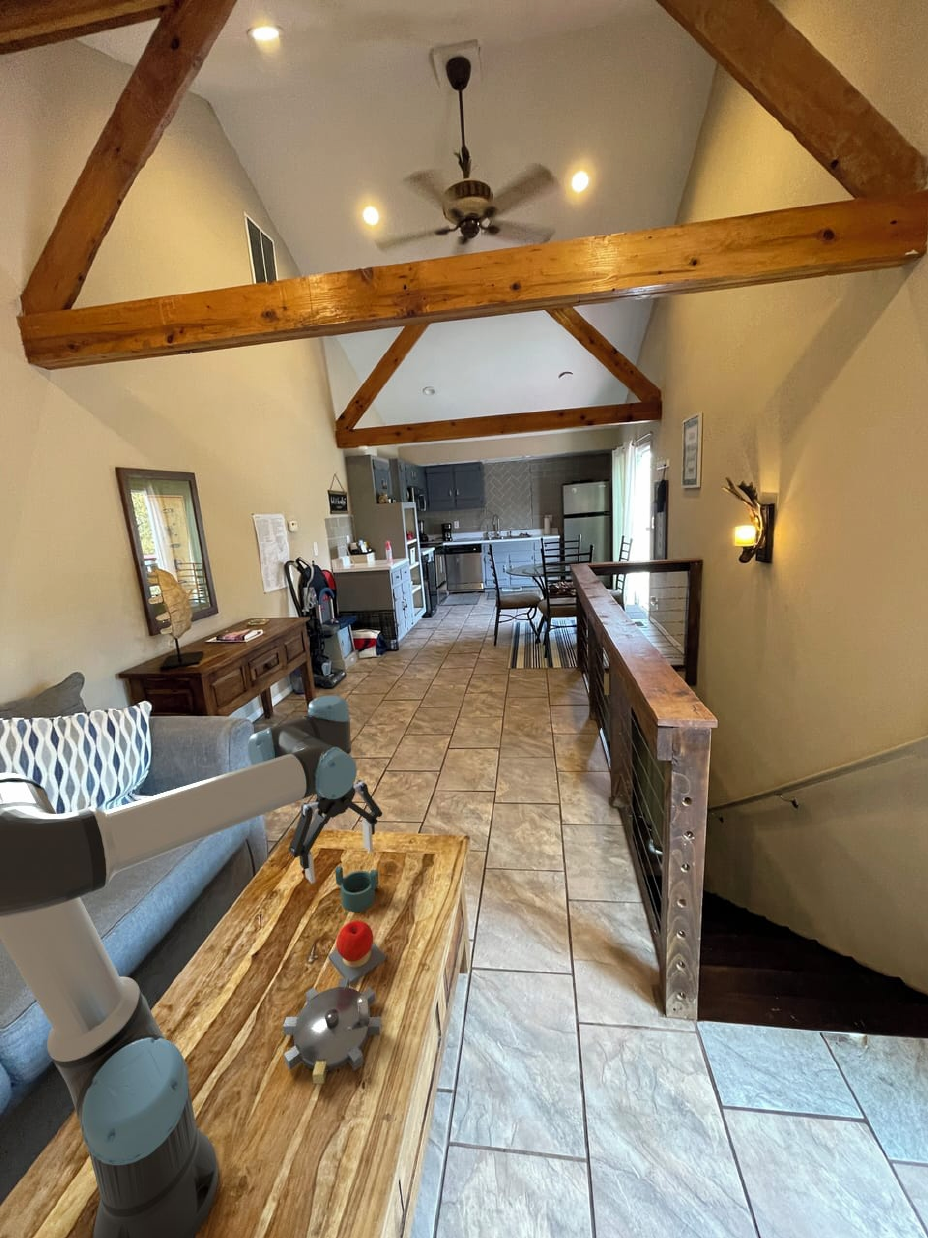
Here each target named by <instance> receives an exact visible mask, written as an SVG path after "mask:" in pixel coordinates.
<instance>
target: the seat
mask: <svg viewBox="0 0 928 1238" xmlns="http://www.w3.org/2000/svg"><path fill="white" fill-rule="evenodd" d="M327 956H328V960H329V961H330V963H331V964H332V965H333V966H334V968H335V969H336V970H337V971H338V973H339V974H340V975H341V976H342V978H349V986H353V984H355V983H356V982H357V981H358V980H360V979H362V977H364V976H365V975H367V974H368V973H369V972H370V971H372V970H374V968H376V967H377V966H379V965H380V964H381V963H382V962H384V961H385V960H386V958H387V955H386V954H385V953H384V952H383V951H382V949H380V947H378V946H377V944H375V942H374V941H373V944H372V947H371V949H370V951H369V952H368V953H367V954H366V955H365V956H364V957H363V958H361V959H359V960H357V961H354V962H350V961H347V960H345V959H344V958H343V957H342V956H341V955H340V954H339V953H338V951H337V948H336V949H335V950H334V951H332V952H331V953H329V954H328V955H327Z"/></svg>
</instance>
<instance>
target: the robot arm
mask: <svg viewBox="0 0 928 1238" xmlns="http://www.w3.org/2000/svg"><path fill="white" fill-rule="evenodd" d="M348 705H349V703H348V701H347V700H346V699H345V698H344V697H341V696H338V695H324V696H320V697H316V698H314V699H313V700H312V701H310V702H309V704H308V710H307V711H308V714H305V715H303V716H301V717H298V718H295V719H293V720H290V721H287V722H284V723H281V724H278V725H274V726H272V727H267V728H266V729H263V730H261V731H259V732H256V733H253V734H252V735H251V736H250V737H249V739H248V741H247V754H248V759H249V761H250V764H251V765H250V766H246V767H243V768H240V769H239V768H238V769H237V770H233V771H229V772H227V773H224V774H221V775H217V776H214V777H211V778H207V779H204V780H201V781H197V782H194V783H190V784H187V785H185V786H181V787H177V788H176V789H172V790H168V791H164V792H162V793H159V794H156V795H153V796H150V797H145V798H142V799H140V800H139V799H138V800H136V801H132V802H130V803H126V804H123V805H121V806H117V807H114V808H110V809H107V810H101V809H98V808H97V807H94V806H88V807H85V808H82V809H77V810H75V811H71V812H67V813H66V812H65V813H57V812H56V810H55V808H54V807H53V805H52V803H51V801H50V799H49V795H48V793H47V791H46V789H45V787H44V786H42V785H40V782H37V781H36V780H34V778H33V779H32V778H31V777H29V776H27V775H23V774H19V773H14V772H12V773H11V772H0V940H1V942H2V945H3V946H4V947H5V949H6V950H7V952H8V955H9V956H10V958H11V960H12V961H13V962H14V964H15V966H16V968H17V970H18V971H19V973H20V975H21V976H22V979H23V981H24V982H25V983H26V985H27V987H28V989H29V990H30V991H31V993H32V995H33V997H34V998H35V1000H36V1002H37V1004H38V1006H39V1007H40V1009H41V1010H42V1012H43V1014H44V1016H45V1018H46V1019H47V1021H48V1022H49V1024H50V1026H51V1029H50V1031H49V1034H48V1037H47V1042H46V1049H47V1052H48V1054H49V1056H50V1059H52V1061H53V1063H54V1064H55V1066H56V1068H57V1069H58V1072H59V1073H60V1075H61V1076H62V1078H63V1080H64V1082H65V1084H66V1085H67V1089H68V1091H69V1093H70V1096H71V1100H72V1104H73V1106H74V1109H75V1112H76V1115H77V1116H76V1117H77V1118H78V1121H79V1125H80V1128H81V1134H82V1136H83V1137H82V1139H83V1140H84V1143H85V1146H86V1148H87V1150H88V1151H87V1152H88V1154H89V1158H90V1161H91V1162H90V1163H91V1165H92V1168H93V1172H94V1173H93V1174H94V1177H95V1179H96V1180H95V1181H96V1185H97V1188H98V1191H99V1195H100V1198H99V1202H98V1208H97V1212H96V1216H95V1217H96V1218H95V1221H94V1222H95V1223H94V1227H93V1238H195V1237H196V1236H197V1234H198V1232H199V1231H200V1229H201V1228H202V1226H203V1225H204V1222H205V1221H206V1219H207V1217H208V1215H209V1212H210V1210H211V1208H212V1205H213V1203H214V1200H215V1197H216V1193H217V1188H218V1183H219V1165H218V1159H217V1158H218V1157H217V1155H216V1150H215V1148H214V1145H213V1143H212V1141H211V1140H210V1139H209V1137H207V1135H206V1134H204V1132H203V1131H201V1130H200V1128H198V1127H197V1123H196V1118H195V1113H194V1107H193V1101H192V1097H191V1096H192V1095H191V1091H190V1089H191V1088H190V1084H189V1081H190V1080H189V1078H190V1076H189V1072H188V1066H187V1063H186V1061H185V1059H184V1056H183V1055H182V1053H181V1051H180V1050H179V1048H178V1047H177V1046H176V1044H175V1043H173V1042H172V1041H170V1040H168V1039H166V1038H165V1036H164V1034H163V1033H162V1031H161V1028H160V1027H159V1025H158V1023H157V1021H156V1020H155V1017H154V1015H153V1014H152V1012H151V1011H152V1010H151V1009H150V1006H149V1003H148V1001H147V999H146V997H145V996H144V995H143V993H142V990H141V989H140V986H139V984H138V983H137V982H136V981H135V980H134V979H133V978H131V977H128V976H119V973H118V972H117V969H116V968H115V965H114V964H113V961H112V960H111V957H110V955H109V953H108V951H107V949H106V947H105V945H104V943H103V941H102V939H101V937H100V935H99V932H98V931H97V929H96V927H95V924H94V923H93V921H92V919H91V917H90V914H89V913H88V911H87V909H86V907H85V905H84V902H83V901H82V898H81V897H84V896H86V895H88V894H90V893H93V892H95V891H98V890H100V889H102V888H103V889H104V888H105V887H107V886H108V885H109V883H110V882H111V880H112V879H113V878H114V876H115V874H118V873H119V872H122V871H124V870H127V869H130V868H132V867H135V866H137V865H140V864H142V863H145V862H147V861H150V860H152V859H154V858H157V857H160V856H162V855H164V854H167V853H170V852H172V851H174V850H177V849H180V848H183V847H185V846H187V845H190V844H193V843H195V842H198V841H199V840H202V839H205V838H208V837H210V836H212V835H215V834H218V833H220V832H223V831H225V830H228V829H231V828H233V827H236V826H238V825H240V824H242V823H246V822H248V821H250V820H253V819H255V818H259V817H260V816H263V815H265V814H268V813H271V812H273V811H276V810H278V809H281V808H283V807H285V806H289V805H292V804H294V803H296V802H299V801H301V800H303V799H307V798H309V797H312V796H314V795H316V800H315V801H314V802H311V803H307V802H303V803H302V804H301V805H300V806H301V807H300V810H301V811H300V817H299V819H298V823H297V824H296V827H295V831H294V833H293V836H292V839H291V841H290V844H289V847H288V852H289V853H290V854H291V855H292V856H293V858H299V865H300V866H301V868H302V869H303V870H304V872H305V873H304V874H305V878H306V879H307V880H308V881H309V883H310V884H311V885H312V884H314V883H316V877H315V867H314V866H315V865H314V864H315V863H314V854H313V852H312V851H311V850H312V848H313V846H314V844H315V843H316V841H317V839H318V838H319V836H320V834H321V833H322V830H323V828H324V827H325V825H327V824H328V823H329V821H330V820H331V819H333V818H336V817H337V816H338V815H341V814H345V813H346V812H347V810H348V809H350V810H352V811H353V812H355V813H356V814H357V815H359V816H360V817H362V818H364V819H363V820H361V826H362V843H363V848H364V850H365V849H366V850H367V851H368V852H369V853H372V852H374V844H373V835H375V833H376V827H375V826H376V825H377V824H378V819H377V818H381V817H382V816H383V811H382V810H381V809H380V807H379V805H378V804H377V803H376V801H375V800H374V798H373V797H372V795H371V794H370V793H369V788H368V784H367V783H366V782H364V781H362V780H361V779H357V772H358V768H357V767H358V766H357V763H356V761H355V759H354V758H353V757H352V755H353V754H352V742H351V741H352V740H351V739H352V738H351V723H350V722H351V718H350V712H349V711H350V710H349V706H348ZM356 779H357V780H356ZM355 782H356V784H355ZM356 793H357V794H358V795H360V797H361V798H362V800H363V801H364V803H365V804H366V805H367V806H368V808H369V810H370V812H368V811H366V810H365V809H364V808H362V807H361V806H359V805H358V804H356V803H355V802H354V801H353V799H354V798H355V795H356ZM323 815H324V816H323ZM313 816H314V818H313ZM312 819H313V820H312Z"/></svg>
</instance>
